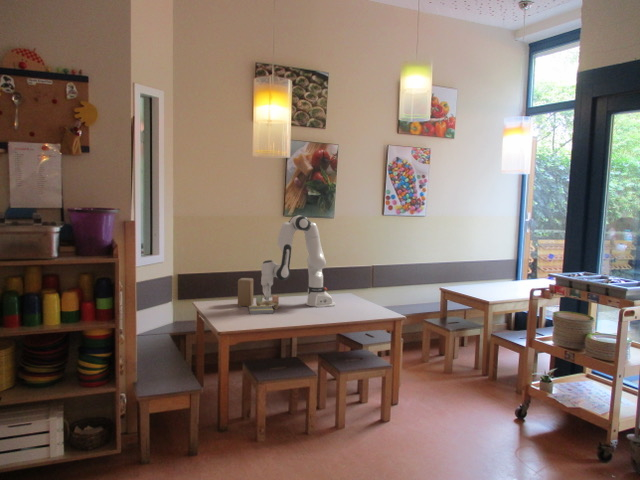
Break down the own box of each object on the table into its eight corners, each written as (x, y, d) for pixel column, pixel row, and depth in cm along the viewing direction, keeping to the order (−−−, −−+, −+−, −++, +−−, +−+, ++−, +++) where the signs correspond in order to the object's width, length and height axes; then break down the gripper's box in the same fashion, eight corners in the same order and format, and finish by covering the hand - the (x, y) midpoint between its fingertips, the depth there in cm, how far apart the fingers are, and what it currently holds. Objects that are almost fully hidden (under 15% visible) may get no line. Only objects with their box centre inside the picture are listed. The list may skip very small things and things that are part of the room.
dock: (270, 309, 358) (270, 305, 358) (273, 313, 346) (273, 309, 346) (248, 310, 354) (248, 305, 354) (250, 314, 343) (250, 309, 342)
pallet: (277, 306, 367) (277, 300, 366) (278, 308, 362) (278, 301, 361) (256, 307, 363) (256, 300, 363) (256, 309, 358) (256, 302, 357)
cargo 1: (261, 300, 363) (261, 295, 363) (262, 302, 359) (262, 296, 359) (256, 301, 362) (256, 295, 362) (256, 302, 358) (256, 296, 358)
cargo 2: (277, 300, 366) (277, 295, 365) (278, 301, 362) (278, 296, 361) (272, 300, 365) (272, 295, 364) (273, 301, 361) (273, 296, 360)
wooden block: (253, 303, 375) (253, 278, 373) (250, 306, 365) (250, 280, 363) (240, 303, 376) (241, 277, 374) (237, 306, 366) (237, 279, 364)
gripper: (273, 284, 351) (272, 303, 352) (269, 280, 371) (269, 298, 372) (264, 284, 350) (263, 303, 351) (261, 280, 370) (260, 298, 371)
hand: (266, 300), depth 362 cm, fingers open, 8 cm apart
